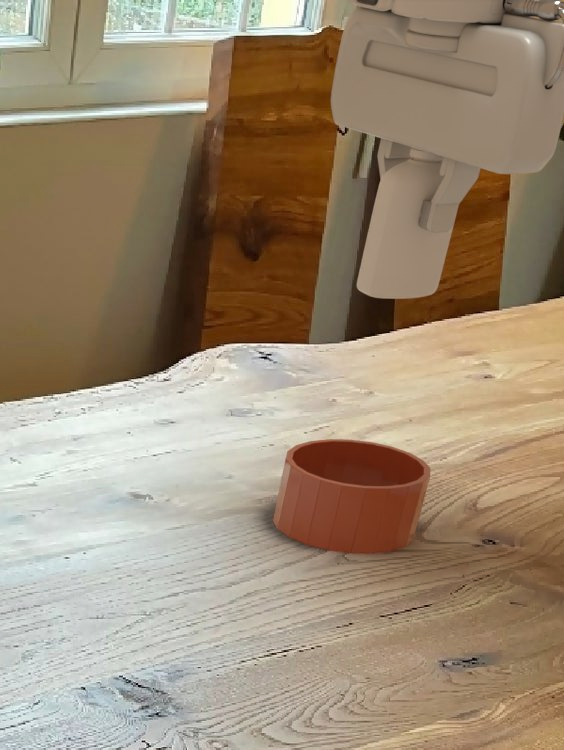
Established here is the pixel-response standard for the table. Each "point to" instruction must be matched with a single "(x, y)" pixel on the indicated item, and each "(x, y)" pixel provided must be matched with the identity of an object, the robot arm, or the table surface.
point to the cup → (351, 496)
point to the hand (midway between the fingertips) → (412, 222)
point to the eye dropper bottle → (404, 233)
